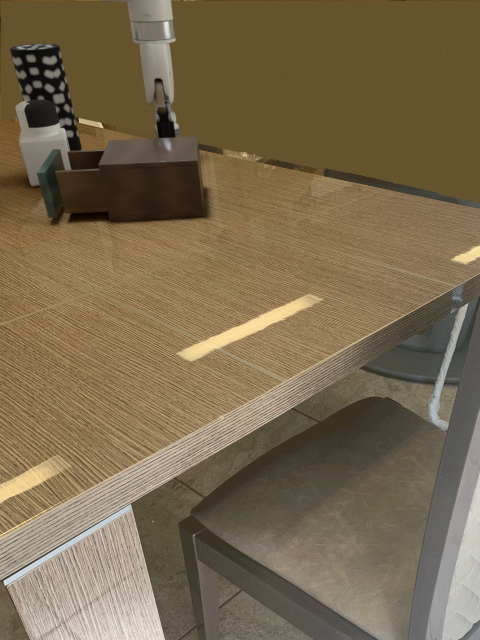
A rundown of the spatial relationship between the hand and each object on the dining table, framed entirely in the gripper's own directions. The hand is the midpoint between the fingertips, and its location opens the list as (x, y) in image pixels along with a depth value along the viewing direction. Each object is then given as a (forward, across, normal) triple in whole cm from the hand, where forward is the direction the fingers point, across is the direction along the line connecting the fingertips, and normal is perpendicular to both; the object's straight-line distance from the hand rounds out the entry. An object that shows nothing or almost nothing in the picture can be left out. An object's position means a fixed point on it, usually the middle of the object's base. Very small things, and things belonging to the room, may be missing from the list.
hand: (168, 139), depth 126 cm
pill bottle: (+4, 0, 0) cm, 4 cm away
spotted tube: (+4, 0, -21) cm, 21 cm away
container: (+4, +10, -21) cm, 24 cm away
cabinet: (+4, +27, -1) cm, 27 cm away
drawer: (+3, +27, -11) cm, 29 cm away
